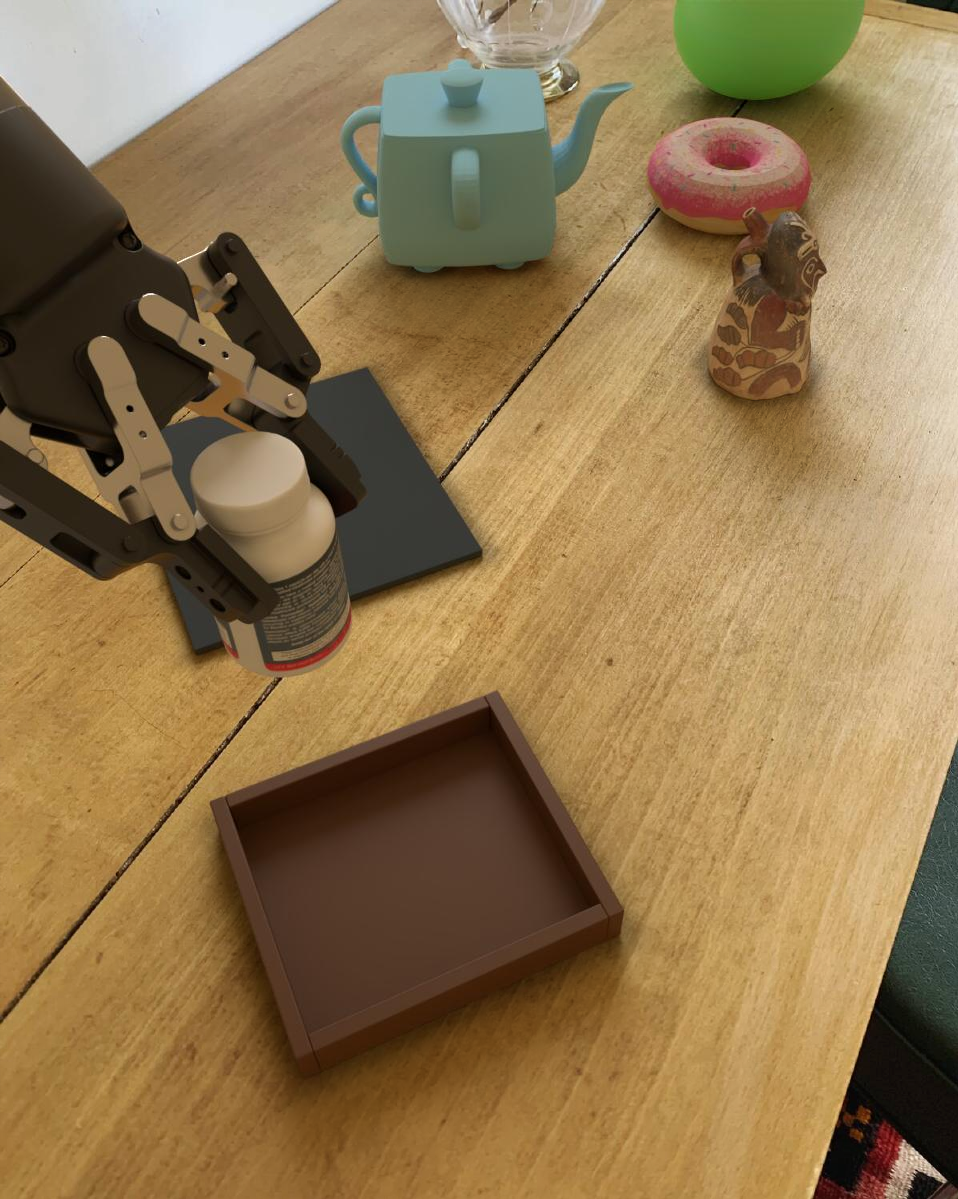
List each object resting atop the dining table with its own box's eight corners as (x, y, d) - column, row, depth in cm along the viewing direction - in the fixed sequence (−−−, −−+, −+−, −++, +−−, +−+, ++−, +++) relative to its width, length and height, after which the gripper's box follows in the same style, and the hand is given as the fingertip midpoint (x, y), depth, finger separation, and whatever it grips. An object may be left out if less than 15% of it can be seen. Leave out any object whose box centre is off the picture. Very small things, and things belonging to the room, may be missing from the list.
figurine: (787, 412, 76) (824, 256, 67) (690, 382, 78) (712, 228, 69) (820, 355, 80) (859, 201, 71) (726, 328, 82) (752, 175, 73)
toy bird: (762, 149, 99) (793, -29, 88) (623, 88, 108) (635, -81, 96) (880, 82, 107) (922, -89, 96) (741, 31, 115) (765, -132, 104)
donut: (691, 262, 88) (699, 204, 84) (615, 183, 96) (619, 127, 92) (836, 224, 91) (850, 166, 87) (751, 150, 99) (760, 95, 95)
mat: (196, 655, 63) (194, 650, 63) (120, 445, 75) (118, 439, 75) (483, 555, 68) (482, 549, 67) (367, 371, 80) (367, 366, 80)
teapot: (453, 325, 83) (445, 154, 73) (325, 238, 92) (302, 72, 81) (624, 235, 91) (638, 67, 81) (491, 161, 99) (489, 1, 89)
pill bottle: (375, 602, 46) (352, 440, 39) (314, 698, 43) (277, 540, 36) (265, 566, 47) (224, 403, 40) (197, 656, 44) (141, 497, 37)
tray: (304, 1080, 48) (295, 1060, 46) (219, 826, 56) (208, 800, 54) (620, 934, 52) (624, 910, 50) (498, 716, 60) (497, 689, 58)
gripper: (-233, 239, 28) (245, 685, 34) (125, 19, 36) (462, 406, 42) (-265, 354, 34) (148, 719, 39) (51, 141, 42) (356, 468, 47)
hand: (308, 556), depth 41 cm, fingers closed on pill bottle, 5 cm apart
